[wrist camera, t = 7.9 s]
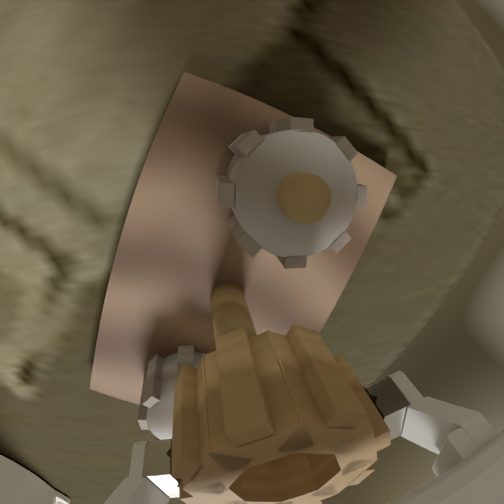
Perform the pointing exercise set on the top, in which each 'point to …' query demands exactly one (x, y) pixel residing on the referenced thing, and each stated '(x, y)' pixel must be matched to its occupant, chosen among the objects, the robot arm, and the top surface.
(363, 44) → the top surface
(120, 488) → the robot arm
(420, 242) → the top surface
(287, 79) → the top surface
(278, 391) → the oak gear
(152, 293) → the gear board
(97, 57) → the top surface
